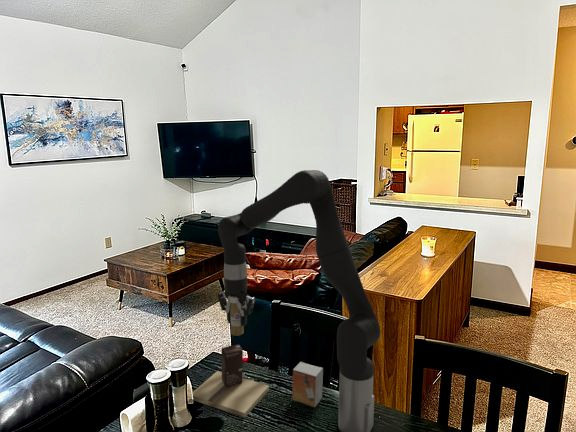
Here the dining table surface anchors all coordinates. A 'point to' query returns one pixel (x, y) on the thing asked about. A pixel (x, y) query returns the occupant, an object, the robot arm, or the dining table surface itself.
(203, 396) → the plywood panel
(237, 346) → the box
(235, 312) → the sprinkles bottle
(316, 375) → the small box
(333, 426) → the dining table surface
